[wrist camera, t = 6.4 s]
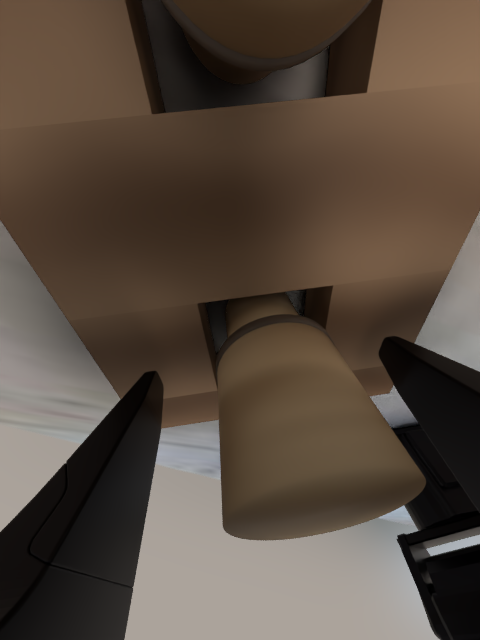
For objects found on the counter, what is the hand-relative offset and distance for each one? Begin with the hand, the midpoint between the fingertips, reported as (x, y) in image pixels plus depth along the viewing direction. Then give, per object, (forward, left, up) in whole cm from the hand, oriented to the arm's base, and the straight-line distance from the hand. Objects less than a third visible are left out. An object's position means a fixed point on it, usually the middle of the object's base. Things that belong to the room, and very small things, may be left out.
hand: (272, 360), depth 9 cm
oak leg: (0, 0, -3) cm, 3 cm away
